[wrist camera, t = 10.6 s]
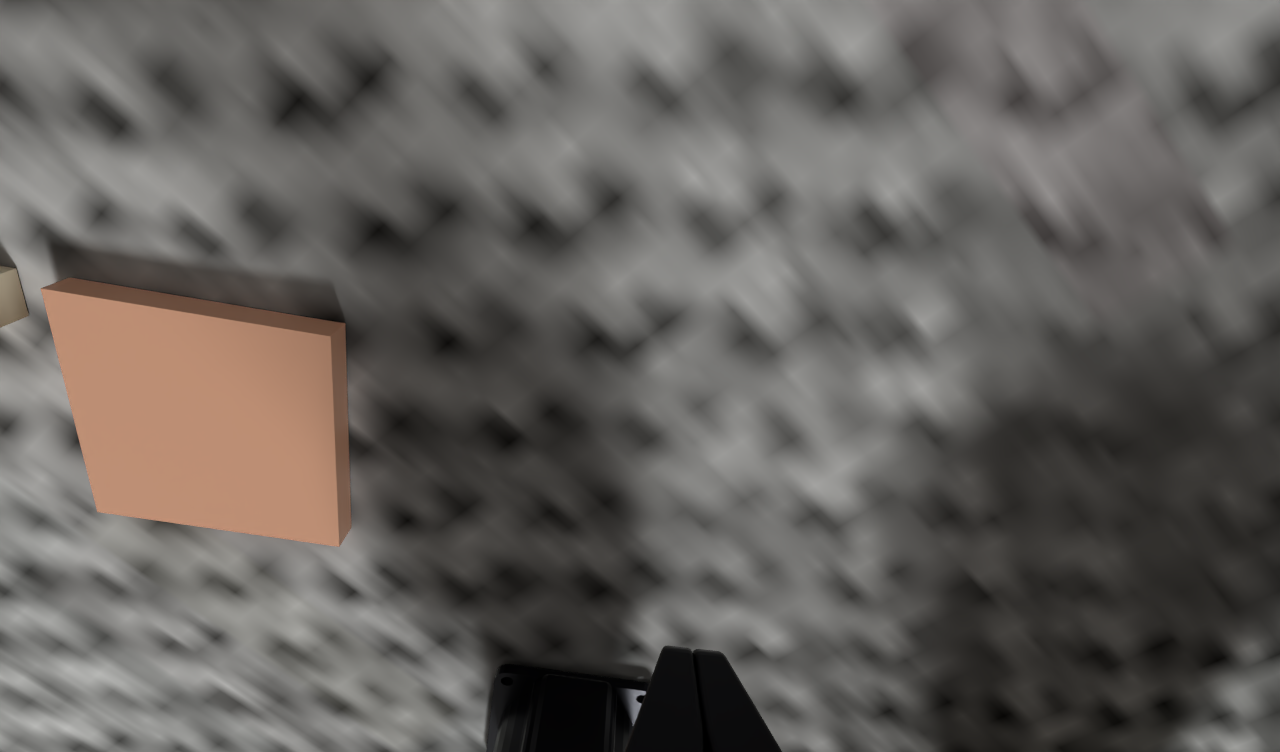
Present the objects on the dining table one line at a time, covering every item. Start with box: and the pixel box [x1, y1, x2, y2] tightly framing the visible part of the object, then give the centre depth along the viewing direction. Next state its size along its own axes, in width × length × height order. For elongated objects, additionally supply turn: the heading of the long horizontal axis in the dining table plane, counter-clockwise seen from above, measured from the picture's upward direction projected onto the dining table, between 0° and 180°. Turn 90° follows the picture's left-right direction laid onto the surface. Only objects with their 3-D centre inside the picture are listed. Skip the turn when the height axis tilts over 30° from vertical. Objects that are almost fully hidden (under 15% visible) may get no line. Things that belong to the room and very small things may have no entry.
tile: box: [41, 277, 351, 547], centre depth 20 cm, size 8×8×1 cm
